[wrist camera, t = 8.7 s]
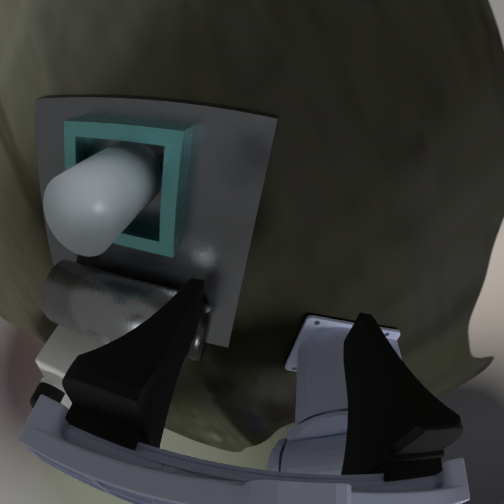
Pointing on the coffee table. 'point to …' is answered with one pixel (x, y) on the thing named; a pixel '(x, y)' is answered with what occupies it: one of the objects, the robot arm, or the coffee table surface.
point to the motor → (158, 211)
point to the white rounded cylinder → (101, 196)
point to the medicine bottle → (60, 362)
